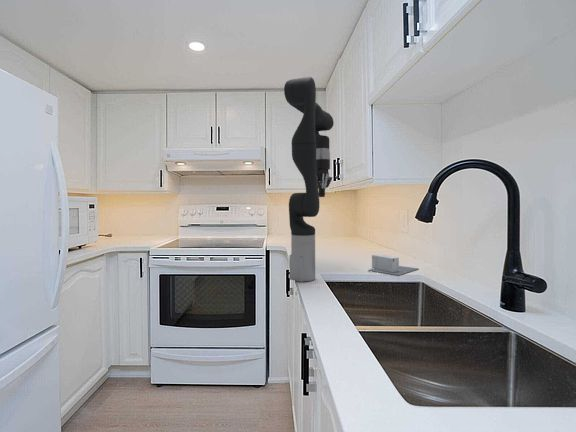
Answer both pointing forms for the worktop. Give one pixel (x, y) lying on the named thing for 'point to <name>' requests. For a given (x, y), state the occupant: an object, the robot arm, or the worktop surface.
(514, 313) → the worktop surface
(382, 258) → the skincare box
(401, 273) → the slate mat
